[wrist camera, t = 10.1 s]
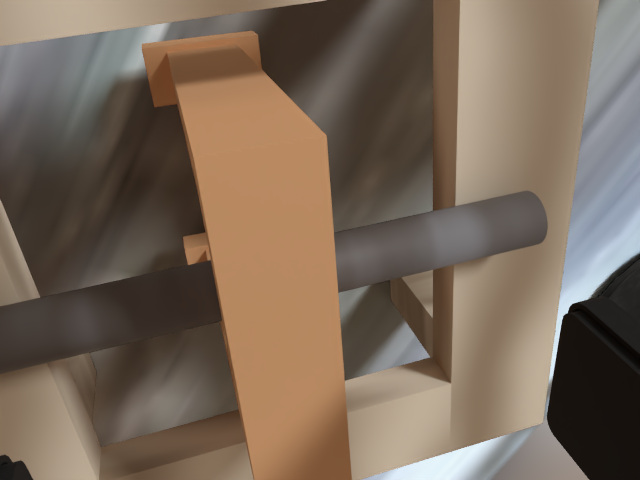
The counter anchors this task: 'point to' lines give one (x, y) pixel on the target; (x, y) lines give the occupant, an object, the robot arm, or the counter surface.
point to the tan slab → (264, 249)
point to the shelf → (443, 307)
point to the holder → (627, 290)
